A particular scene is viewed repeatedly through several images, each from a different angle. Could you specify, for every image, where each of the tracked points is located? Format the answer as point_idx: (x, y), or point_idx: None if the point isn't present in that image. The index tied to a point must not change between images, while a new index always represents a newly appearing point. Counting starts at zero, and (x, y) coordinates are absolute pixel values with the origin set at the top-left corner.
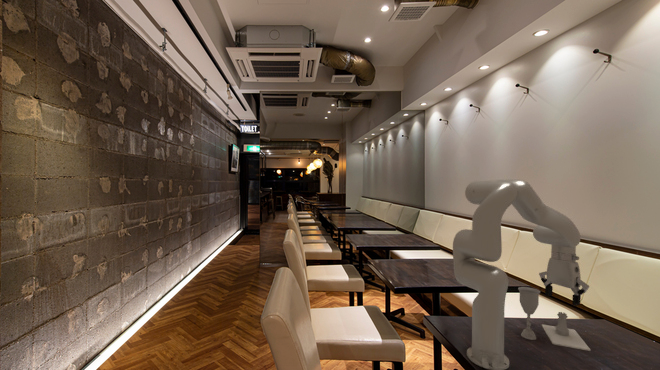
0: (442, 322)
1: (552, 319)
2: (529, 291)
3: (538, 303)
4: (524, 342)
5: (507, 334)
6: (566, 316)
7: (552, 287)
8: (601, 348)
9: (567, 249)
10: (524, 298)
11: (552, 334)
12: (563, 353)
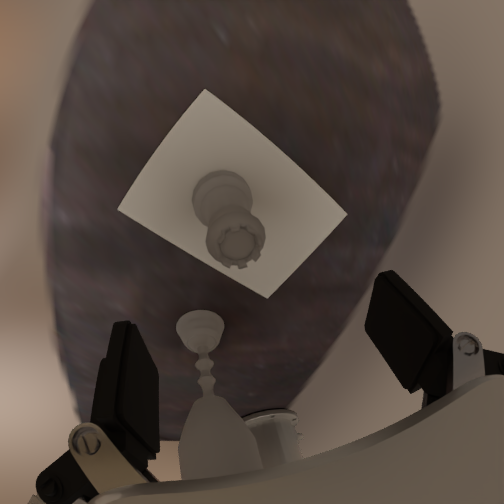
0: None
1: (70, 87)
2: None
3: (252, 439)
4: (230, 357)
5: (178, 367)
6: (262, 236)
7: (122, 403)
8: (351, 148)
9: None
10: None
11: None
12: (313, 305)
